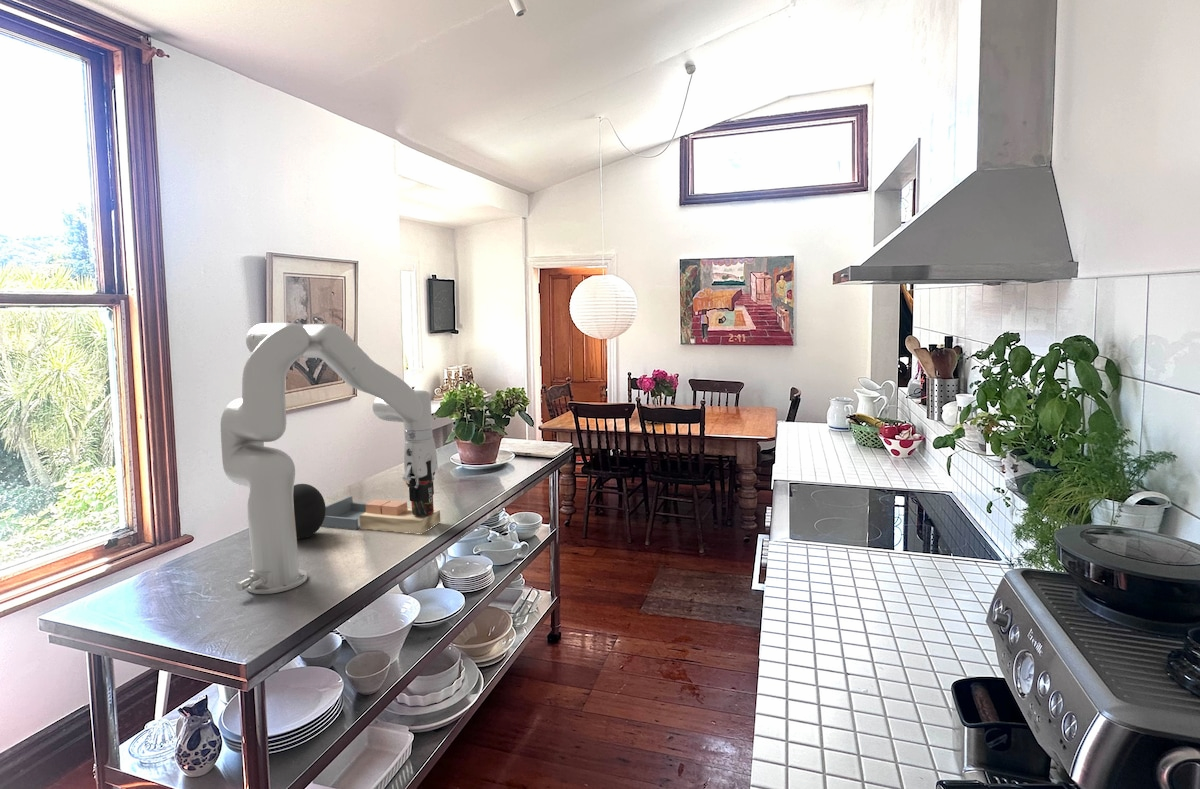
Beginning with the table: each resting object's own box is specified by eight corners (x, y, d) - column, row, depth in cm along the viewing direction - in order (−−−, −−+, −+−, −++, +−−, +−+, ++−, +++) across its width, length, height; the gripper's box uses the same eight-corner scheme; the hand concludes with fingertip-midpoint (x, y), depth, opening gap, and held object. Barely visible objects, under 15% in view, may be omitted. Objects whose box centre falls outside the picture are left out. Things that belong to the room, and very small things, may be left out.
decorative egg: (277, 534, 184) (273, 482, 182) (325, 527, 190) (321, 476, 188) (279, 548, 174) (274, 493, 172) (330, 539, 179) (325, 486, 177)
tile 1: (380, 514, 188) (380, 505, 188) (366, 512, 190) (365, 504, 189) (391, 508, 193) (390, 500, 192) (376, 507, 194) (376, 499, 194)
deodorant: (430, 515, 183) (427, 462, 181) (409, 515, 183) (406, 463, 182) (436, 509, 189) (433, 458, 187) (415, 509, 189) (412, 458, 187)
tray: (356, 529, 187) (355, 512, 186) (319, 526, 191) (317, 509, 190) (386, 514, 200) (385, 498, 200) (351, 511, 204) (350, 495, 204)
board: (421, 534, 182) (420, 520, 181) (360, 528, 188) (359, 515, 187) (440, 523, 191) (439, 510, 191) (382, 517, 197) (381, 505, 197)
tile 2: (397, 515, 186) (396, 507, 186) (382, 514, 188) (381, 505, 188) (407, 510, 191) (406, 501, 191) (392, 509, 193) (392, 500, 192)
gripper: (412, 441, 174) (415, 507, 177) (446, 430, 190) (449, 490, 193) (388, 440, 177) (392, 505, 179) (424, 429, 193) (427, 489, 195)
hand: (421, 497), depth 186 cm, fingers closed on deodorant, 5 cm apart
